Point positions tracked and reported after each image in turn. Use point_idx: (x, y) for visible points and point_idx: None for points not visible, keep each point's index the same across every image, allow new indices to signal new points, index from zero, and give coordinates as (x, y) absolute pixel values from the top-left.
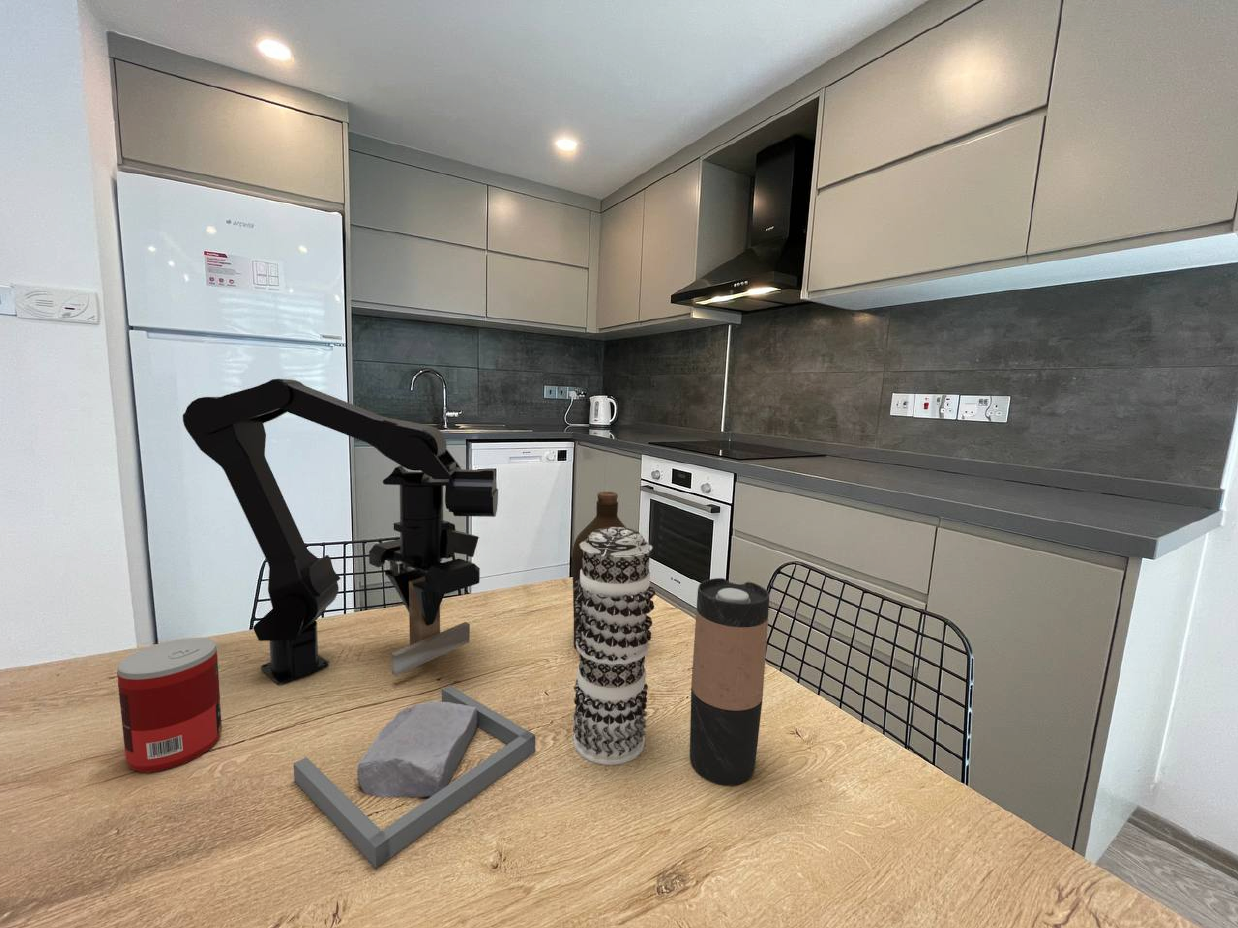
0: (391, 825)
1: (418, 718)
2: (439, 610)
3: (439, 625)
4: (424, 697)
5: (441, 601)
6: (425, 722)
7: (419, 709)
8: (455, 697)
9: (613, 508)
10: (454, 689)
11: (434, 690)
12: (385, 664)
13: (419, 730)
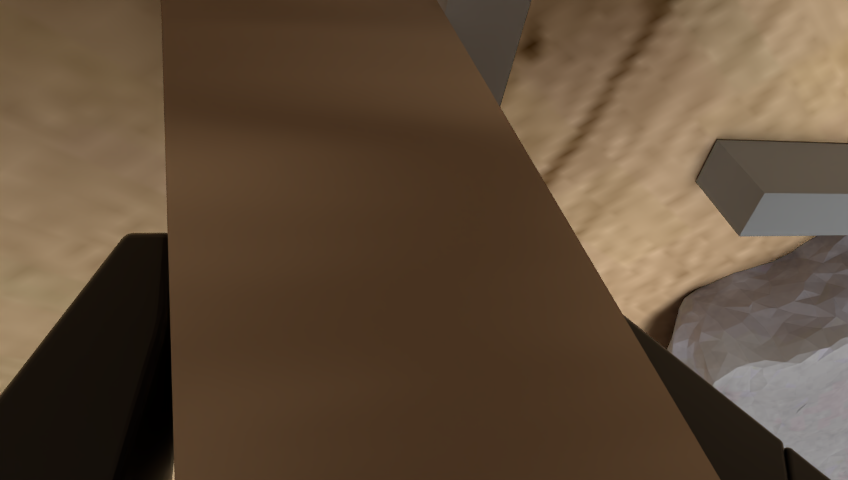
0: None
1: (800, 427)
2: (561, 224)
3: (473, 73)
4: (578, 199)
5: (801, 458)
6: (835, 420)
7: (764, 398)
8: (843, 234)
9: None
10: (810, 201)
11: (586, 135)
12: (21, 144)
13: (834, 443)
